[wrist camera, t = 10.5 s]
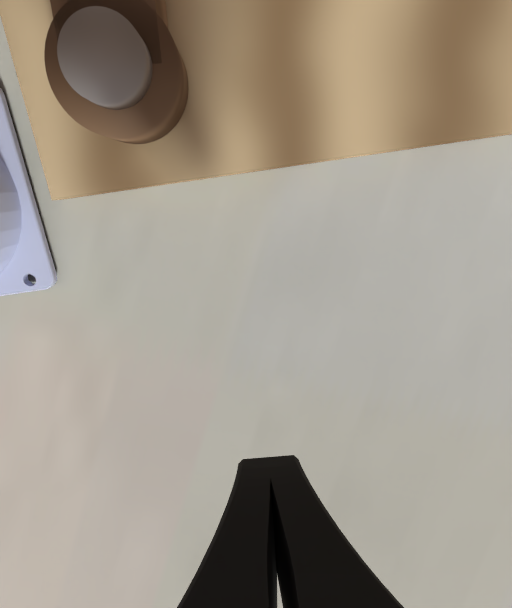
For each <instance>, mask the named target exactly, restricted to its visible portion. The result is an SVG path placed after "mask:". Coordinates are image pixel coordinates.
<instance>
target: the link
mask: <svg viewBox="0 0 512 608" xmlns="http://www.w3.org/2000/svg"><path fill="white" fill-rule="evenodd" d="M50 3H51V9H52V14H53V20H52V22H51V24H50V27H49V30H48V32H47V37H46V41H45V50H44V61H45V68H46V73H47V77H48V81H49V84H50V86H51V89H52V91H53V93H54V95H55V97H56V99H57V100H58V102H59V103H60V105H61V106H62V108H63V109H64V110H65V111H66V112H67V114H68V115H69V116H70V117H71V118H73V119H74V120H75V121H76V122H77V123H79V124H80V125H81V126H83V127H85V128H86V129H88V130H90V131H92V132H94V133H97V134H99V135H102V136H105V137H108V138H111V139H114V140H117V141H120V142H124V143H128V144H146V143H150V142H154V141H156V140H158V139H160V138H162V137H164V136H165V135H167V134H168V133H169V132H170V131H171V130H172V129H173V128H174V127H175V126H176V125H177V123H178V122H179V120H180V119H181V117H182V115H183V113H184V110H185V107H186V104H187V99H188V90H189V87H188V76H187V71H186V67H185V64H184V62H183V59H182V57H181V55H180V53H179V50H178V48H177V46H176V44H175V42H174V40H173V38H172V36H171V34H170V32H169V29H168V20H167V11H166V2H165V0H50Z"/></svg>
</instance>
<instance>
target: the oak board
mask: <svg viewBox="0 0 512 608" xmlns="http://www.w3.org/2000/svg"><path fill="white" fill-rule="evenodd" d="M165 2H166V11H167V20H168V29H169V32H170V34H171V36H172V38H173V40H174V42H175V44H176V46H177V48H178V50H179V53H180V55H181V57H182V59H183V62H184V64H185V67H186V71H187V76H188V87H189V90H188V99H187V104H186V107H185V110H184V113H183V115H182V117H181V119H180V120H179V122H178V123H177V125H176V126H175V127H174V128H173V129H172V130H171V131H170V132H169V133H168V134H167V135H165V136H164V137H162V138H160V139H158V140H156V141H154V142H150V143H146V144H128V143H124V142H120V141H117V140H114V139H111V138H108V137H105V136H102V135H99V134H97V133H94V132H92V131H90V130H88V129H86V128H85V127H83V126H81V125H80V124H79V123H77V122H76V121H75V120H74V119H73V118H71V117H70V116H69V115H68V114H67V112H66V111H65V110H64V109H63V108H62V106H61V105H60V103H59V102H58V100H57V99H56V97H55V95H54V93H53V91H52V89H51V86H50V84H49V81H48V77H47V73H46V68H45V61H44V50H45V41H46V37H47V32H48V30H49V27H50V24H51V22H52V20H53V14H52V9H51V3H50V0H0V16H1V19H2V23H3V26H4V30H5V34H6V37H7V41H8V44H9V48H10V51H11V55H12V59H13V62H14V66H15V69H16V73H17V77H18V80H19V84H20V87H21V91H22V95H23V98H24V102H25V105H26V109H27V112H28V116H29V120H30V123H31V127H32V130H33V134H34V138H35V141H36V145H37V148H38V152H39V156H40V159H41V163H42V166H43V170H44V174H45V177H46V181H47V184H48V188H49V191H50V195H51V199H52V200H61V199H69V198H75V197H82V196H89V195H96V194H103V193H110V192H117V191H124V190H131V189H137V188H144V187H151V186H158V185H165V184H172V183H179V182H186V181H192V180H199V179H206V178H213V177H220V176H227V175H234V174H241V173H248V172H254V171H261V170H268V169H275V168H282V167H289V166H296V165H303V164H310V163H316V162H323V161H330V160H337V159H344V158H351V157H358V156H365V155H372V154H378V153H385V152H392V151H399V150H406V149H413V148H420V147H427V146H434V145H440V144H447V143H454V142H461V141H468V140H475V139H482V138H489V137H496V136H502V135H509V134H512V0H165Z"/></svg>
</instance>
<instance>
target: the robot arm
mask: <svg viewBox="0 0 512 608" xmlns="http://www.w3.org/2000/svg"><path fill="white" fill-rule="evenodd" d="M29 274H32V275H33V276H34V277H35V278H36V283H35V284H33V283H31V282H30V281H29V279H28V275H29ZM56 281H57V274H56V270H55V267H54V263H53V260H52V257H51V253H50V250H49V246H48V243H47V239H46V236H45V232H44V229H43V226H42V222H41V219H40V215H39V212H38V208H37V205H36V201H35V198H34V195H33V191H32V188H31V184H30V181H29V177H28V174H27V171H26V167H25V164H24V160H23V157H22V153H21V150H20V146H19V143H18V140H17V136H16V133H15V129H14V126H13V122H12V119H11V115H10V112H9V109H8V105H7V102H6V98H5V95H4V93H3V91H2V89H1V88H0V296H3V295H10V294H17V293H24V292H31V291H38V290H45V289H48V288H50V287H52V286H53V285H54V284H55V283H56ZM277 575H278V580H279V586H280V592H281V598H282V603H283V608H404V607H403V606H402V605H401V604H400V603H399V602H398V601H397V600H396V598H395V597H394V596H393V595H392V594H391V593H390V592H389V591H388V589H387V588H386V587H385V586H384V585H383V584H382V583H381V581H380V580H379V579H378V578H377V577H376V575H375V574H374V573H373V572H372V571H371V569H370V568H369V567H368V566H367V565H366V563H365V562H364V561H363V560H362V558H361V557H360V556H359V554H358V553H357V552H356V550H355V549H354V548H353V547H352V545H351V544H350V543H349V541H348V540H347V539H346V537H345V536H344V535H343V533H342V532H341V530H340V529H339V528H338V526H337V525H336V523H335V522H334V520H333V519H332V517H331V516H330V514H329V513H328V511H327V510H326V508H325V507H324V505H323V504H322V502H321V501H320V499H319V498H318V496H317V494H316V493H315V491H314V489H313V487H312V486H311V484H310V482H309V480H308V479H307V477H306V475H305V473H304V471H303V469H302V467H301V465H300V462H299V460H298V459H297V458H296V457H295V456H294V455H291V456H278V457H266V458H253V459H243V460H242V461H241V462H240V463H239V464H238V470H237V474H236V478H235V482H234V485H233V488H232V492H231V494H230V497H229V500H228V503H227V506H226V508H225V511H224V513H223V516H222V518H221V520H220V523H219V525H218V528H217V530H216V533H215V535H214V537H213V539H212V541H211V543H210V546H209V548H208V550H207V552H206V554H205V556H204V558H203V560H202V562H201V564H200V566H199V568H198V570H197V572H196V574H195V576H194V578H193V580H192V582H191V584H190V586H189V587H188V589H187V591H186V593H185V595H184V596H183V598H182V600H181V602H180V603H179V605H178V607H177V608H277Z"/></svg>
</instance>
